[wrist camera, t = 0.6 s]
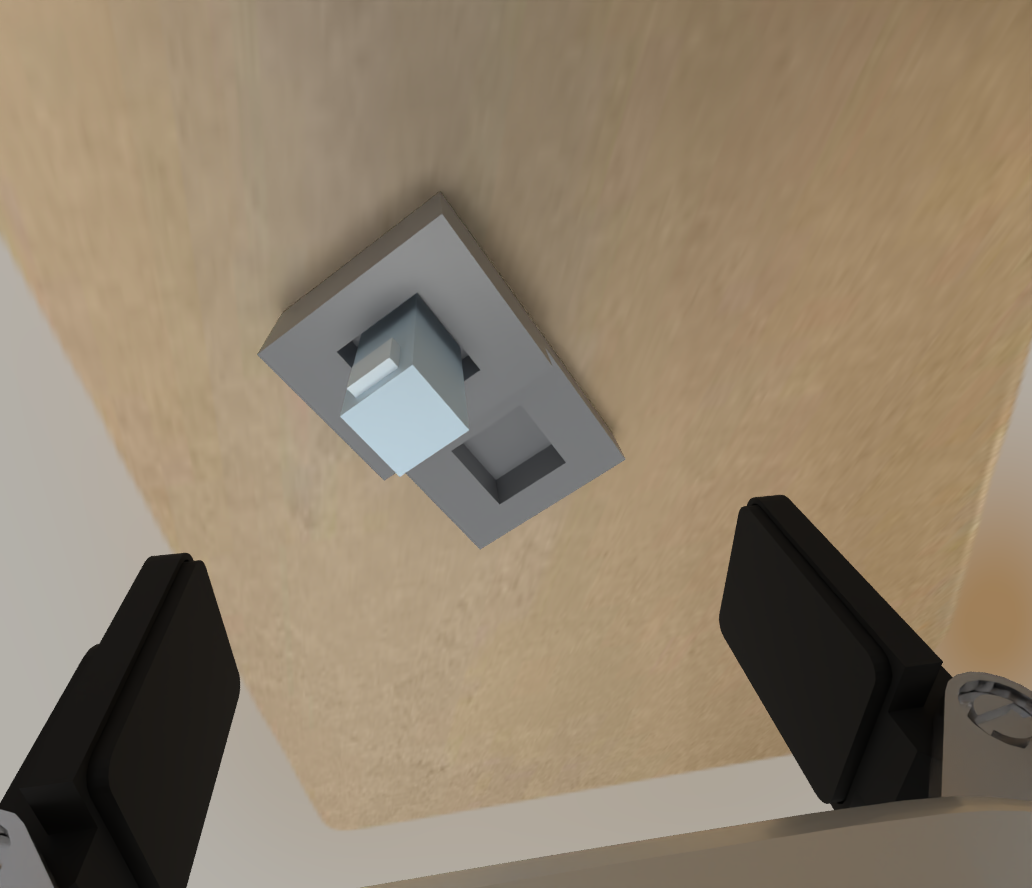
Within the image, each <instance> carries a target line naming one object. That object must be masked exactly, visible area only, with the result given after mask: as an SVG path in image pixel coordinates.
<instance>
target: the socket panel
mask: <svg viewBox="0 0 1032 888" xmlns="http://www.w3.org/2000/svg"><path fill="white" fill-rule="evenodd" d="M416 293H417V294H418V295H419V296H420V297H421V299H422V300H423V301H424V302H425V304H426V305H427V306H428V307H429V309H430V310H431V311H432V312H433V314H434V315H435V316H436V317H437V319H438V320H439V321H440V322H441V324H442V325H443V326H444V327H445V329H446V330H447V331H448V332H449V334H450V335H451V336H452V337H453V339H454V340H455V341H456V342H457V344H458V345H459V346H460V349H461V359H462V368H463V377H464V386H465V396H466V405H467V414H468V424H469V431H467V432H466V433H464V434H463V435H461V436H460V437H458V438H457V439H455V440H454V441H452V442H451V443H449V444H448V445H446V446H445V447H443V448H442V449H440V450H439V451H437V452H436V453H434V454H433V455H431V456H430V457H428V458H427V459H425V460H424V461H422V462H421V463H419V464H418V465H416V466H415V467H413V468H412V469H410V470H409V471H408V472H406V474H407V475H408V476H409V477H410V478H411V479H412V480H413V481H414V482H415V483H416V484H417V485H418V486H419V487H420V488H421V489H422V490H423V491H424V493H425V494H426V495H427V496H428V497H429V498H430V499H431V500H432V501H433V502H434V503H435V504H436V505H437V506H438V507H439V508H440V509H441V510H442V511H443V512H444V513H445V514H446V515H447V516H448V517H449V518H450V519H451V520H452V521H453V522H454V523H455V524H456V525H457V526H458V527H459V528H460V529H461V530H462V531H463V532H464V533H465V534H466V536H467V537H468V538H469V539H470V540H471V541H472V542H473V543H474V544H475V545H476V546H477V547H478V548H479V549H482V548H483V547H485V546H486V545H488V544H490V543H491V542H493V541H495V540H496V539H498V538H499V537H501V536H503V535H504V534H506V533H507V532H509V531H511V530H512V529H514V528H516V527H517V526H519V525H520V524H522V523H524V522H525V521H527V520H528V519H530V518H532V517H533V516H535V515H537V514H538V513H540V512H541V511H543V510H545V509H546V508H548V507H549V506H551V505H553V504H554V503H556V502H558V501H559V500H561V499H562V498H564V497H566V496H567V495H569V494H570V493H572V492H574V491H575V490H577V489H579V488H580V487H582V486H583V485H585V484H587V483H588V482H590V481H592V480H593V479H595V478H596V477H598V476H600V475H601V474H603V473H604V472H606V471H608V470H609V469H611V468H613V467H614V466H616V465H617V464H619V463H621V462H622V461H624V460H625V457H624V455H623V453H622V451H621V449H620V447H619V445H618V443H617V441H616V439H615V437H614V435H613V433H612V432H611V431H610V429H609V428H608V426H607V425H606V424H605V422H604V421H603V419H602V418H601V417H600V415H599V414H598V412H597V411H596V410H595V408H594V407H593V405H592V404H591V402H590V401H589V400H588V398H587V397H586V395H585V394H584V393H583V391H582V390H581V388H580V387H579V386H578V384H577V383H576V381H575V380H574V379H573V377H572V376H571V374H570V373H569V372H568V370H567V369H566V367H565V366H564V365H563V363H562V362H561V360H560V359H559V358H558V356H557V355H556V353H555V352H554V350H553V349H552V348H551V346H550V345H549V343H548V342H547V341H546V339H545V338H544V336H543V335H542V334H541V332H540V331H539V329H538V328H537V327H536V325H535V324H534V322H533V321H532V320H531V318H530V317H529V315H528V314H527V313H526V311H525V310H524V308H523V307H522V306H521V304H520V303H519V301H518V300H517V299H516V297H515V296H514V294H513V293H512V291H511V290H510V289H509V287H508V286H507V284H506V283H505V282H504V280H503V279H502V277H501V276H500V275H499V273H498V272H497V270H496V269H495V268H494V266H493V265H492V263H491V262H490V261H489V259H488V258H487V256H486V255H485V254H484V252H483V251H482V249H481V248H480V247H479V245H478V244H477V242H476V241H475V239H474V238H473V237H472V235H471V234H470V232H469V231H468V230H467V228H466V227H465V225H464V224H463V223H462V221H461V220H460V218H459V217H458V216H457V214H456V213H455V211H454V210H453V209H452V207H451V206H450V204H449V203H448V202H447V200H446V199H445V197H444V196H443V195H442V193H441V192H438V193H437V194H436V195H435V196H433V197H432V198H431V199H429V200H428V201H427V202H425V203H424V204H423V205H422V206H420V207H419V208H418V209H416V210H415V211H414V212H413V213H411V214H410V215H409V216H407V217H406V218H405V219H403V220H402V221H401V222H400V223H398V224H397V225H396V226H394V227H393V228H392V229H390V230H389V231H388V232H387V233H385V234H384V235H383V236H381V237H380V238H379V239H378V240H376V241H375V242H374V243H372V244H371V245H370V246H368V247H367V248H366V249H365V250H363V251H362V252H361V253H359V254H358V255H357V256H356V257H354V258H353V259H352V260H350V261H349V262H348V263H346V264H345V265H344V266H343V267H341V268H340V269H339V270H337V271H336V272H335V273H333V274H332V275H331V276H330V277H328V278H327V279H326V280H324V281H323V282H322V283H321V284H319V285H318V286H317V287H315V288H314V289H313V290H311V291H310V292H309V293H308V294H306V295H305V296H304V297H302V298H301V299H300V300H299V301H297V302H296V303H295V304H293V305H292V306H291V307H289V308H288V309H287V310H286V311H284V312H283V313H282V314H281V316H280V317H279V319H278V321H277V322H276V324H275V326H274V327H273V329H272V331H271V332H270V334H269V336H268V337H267V339H266V341H265V342H264V344H263V346H262V347H261V349H260V351H259V352H258V354H257V355H258V356H259V357H260V358H261V359H262V360H263V361H264V362H265V363H266V364H267V365H268V366H269V367H270V368H271V369H272V370H273V371H274V372H275V373H276V374H277V375H278V376H279V377H280V378H281V379H282V380H283V381H284V382H285V383H286V384H287V385H288V386H289V387H290V388H291V389H292V390H293V391H294V392H295V393H296V394H297V395H298V396H299V397H300V398H301V399H302V400H303V401H305V402H306V403H307V404H308V405H309V406H310V407H311V408H312V409H313V410H314V411H315V412H316V413H317V414H318V415H319V416H320V417H321V418H322V419H323V420H324V421H325V422H326V423H327V424H328V425H329V426H330V427H331V428H332V429H333V430H334V431H335V432H336V433H337V434H338V435H339V436H340V437H341V438H342V439H343V440H344V441H345V442H346V443H347V444H348V445H349V446H350V447H351V448H352V449H353V450H354V451H355V452H356V453H357V454H358V455H359V456H360V457H361V458H362V459H363V460H364V461H365V462H366V463H367V464H368V465H369V466H370V467H371V468H372V469H373V470H374V471H375V472H376V473H377V474H378V475H379V476H380V477H381V478H382V479H383V480H386V479H387V478H389V477H390V476H392V475H393V474H395V472H394V471H393V470H392V469H391V468H390V466H389V465H388V464H387V463H386V462H385V461H384V460H383V459H382V458H381V457H380V456H379V455H378V454H377V453H376V452H375V451H374V450H373V449H372V448H371V447H370V446H369V445H368V444H367V443H366V442H365V441H364V440H363V439H362V438H361V437H360V436H359V435H358V434H357V433H356V432H355V431H354V430H353V429H352V428H351V427H350V426H349V425H348V424H347V423H346V422H345V421H344V420H343V419H342V418H341V417H340V414H341V411H342V407H343V403H344V399H345V395H346V391H347V385H348V381H349V378H350V374H351V370H352V366H353V364H354V360H355V356H356V352H357V348H358V345H359V341H360V337H361V334H362V333H363V332H365V331H366V330H367V329H369V328H370V327H371V326H373V325H374V324H375V323H377V322H378V321H379V320H381V319H382V318H384V317H385V316H386V315H388V314H389V313H390V312H392V311H393V310H394V309H396V308H397V307H398V306H400V305H401V304H403V303H404V302H405V301H407V300H408V299H409V298H411V297H412V296H413V295H415V294H416Z"/></svg>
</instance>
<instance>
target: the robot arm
mask: <svg viewBox="0 0 1032 888" xmlns="http://www.w3.org/2000/svg"><path fill="white" fill-rule="evenodd" d="M719 623H720V628H721V632H722V634H723V636H724V638H725V640H726V641H727V643H728V645H729V647H730V648H731V650H732V652H733V653H734V655H735V657H736V659H737V660H738V662H739V664H740V665H741V667H742V669H743V670H744V672H745V674H746V676H747V677H748V679H749V681H750V682H751V684H752V686H753V688H754V689H755V691H756V693H757V694H758V696H759V698H760V700H761V701H762V703H763V705H764V706H765V708H766V710H767V711H768V713H769V715H770V717H771V718H772V720H773V722H774V723H775V725H776V727H777V729H778V730H779V732H780V734H781V735H782V737H783V739H784V740H785V742H786V744H787V746H788V747H789V749H790V751H791V752H792V754H793V756H794V757H795V759H796V761H797V763H798V764H799V766H800V768H801V769H802V771H803V773H804V775H805V776H806V778H807V780H808V781H809V783H810V785H811V786H812V788H813V790H814V792H815V793H816V795H817V796H818V798H819V799H820V800H821V801H822V802H824V803H826V804H829V803H830V804H831V805H832V807H833V809H834V810H832V811H825V812H819V813H811V814H805V815H798V816H792V817H786V818H780V819H773V820H767V821H761V822H755V823H748V824H742V825H736V826H729V827H723V828H717V829H710V830H705V831H698V832H692V833H685V834H679V835H673V836H667V837H660V838H654V839H648V840H643V841H636V842H630V843H624V844H618V845H612V846H606V847H600V848H593V849H587V850H581V851H575V852H569V853H563V854H557V855H551V856H545V857H539V858H533V859H527V860H521V861H515V862H510V863H503V864H497V865H491V866H485V867H480V868H473V869H467V870H461V871H455V872H449V873H443V874H437V875H431V876H426V877H420V878H414V879H408V880H402V881H396V882H391V883H385V884H379V885H373V886H367V887H362V888H1032V691H1030V690H1029V689H1027V688H1026V687H1024V686H1022V685H1020V684H1018V683H1015V682H1013V681H1011V680H1009V679H1006V678H1004V677H1000V676H997V675H992V674H988V673H983V672H966V673H962V674H958V675H956V676H954V677H952V676H951V675H950V674H949V673H948V672H947V671H946V670H945V669H944V668H943V667H942V666H941V665H942V663H943V661H942V660H941V659H940V658H939V657H938V656H937V655H936V654H935V653H934V652H933V651H932V649H931V648H930V647H929V646H928V645H927V644H926V643H925V642H924V641H923V640H922V639H921V638H920V637H919V636H918V635H917V634H916V633H915V632H914V630H913V629H912V628H911V627H910V626H909V625H908V624H907V623H906V622H905V621H904V620H903V619H902V618H901V617H900V616H899V615H898V614H897V612H896V611H895V610H894V609H893V608H892V607H891V606H890V605H889V604H888V603H887V602H886V601H885V600H884V599H883V598H882V597H881V596H880V595H879V593H878V592H877V591H876V590H875V589H874V588H873V587H872V586H871V585H870V584H869V583H868V582H867V581H866V580H865V579H864V578H863V577H862V575H861V574H860V573H859V572H858V571H857V570H856V569H855V568H854V567H853V566H852V565H851V564H850V563H849V562H848V561H847V560H846V559H845V558H844V556H843V555H842V554H841V553H840V552H839V551H838V550H837V549H836V548H835V547H834V546H833V545H832V544H831V543H830V542H829V541H828V540H827V538H826V537H825V536H824V535H823V534H822V533H821V532H820V531H819V530H818V529H817V528H816V527H815V526H814V525H813V524H812V523H811V522H810V521H809V519H808V518H807V517H806V516H805V515H804V514H803V513H802V512H801V511H800V510H799V509H798V508H797V507H796V506H795V505H794V504H793V503H792V501H791V500H790V499H789V498H787V497H786V496H784V495H774V496H764V497H754V498H751V499H750V500H749V502H748V504H747V506H744V507H742V508H741V509H740V511H739V514H738V519H737V525H736V530H735V535H734V541H733V546H732V551H731V556H730V562H729V567H728V572H727V577H726V583H725V588H724V593H723V598H722V604H721V609H720V614H719ZM239 693H240V677H239V672H238V669H237V666H236V663H235V659H234V656H233V653H232V650H231V646H230V643H229V640H228V637H227V634H226V630H225V627H224V624H223V621H222V618H221V614H220V611H219V608H218V605H217V601H216V598H215V595H214V592H213V589H212V585H211V582H210V579H209V576H208V572H207V569H206V566H205V564H204V563H203V561H201V560H198V561H194V560H193V558H192V556H191V555H190V554H188V553H179V554H169V555H159V556H151V557H149V558H148V559H147V560H146V561H145V563H144V565H143V566H142V569H141V570H140V572H139V574H138V575H137V577H136V579H135V581H134V583H133V584H132V586H131V588H130V590H129V592H128V594H127V595H126V597H125V599H124V601H123V602H122V604H121V606H120V608H119V610H118V611H117V613H116V615H115V617H114V619H113V620H112V622H111V624H110V626H109V628H108V629H107V631H106V633H105V635H104V637H103V638H102V640H101V642H100V644H97V645H95V646H93V647H92V648H90V649H89V650H88V652H87V653H86V655H85V656H84V657H83V659H82V661H81V662H80V664H79V666H78V668H77V670H76V671H75V673H74V675H73V676H72V678H71V680H70V682H69V683H68V685H67V687H66V689H65V691H64V692H63V694H62V696H61V697H60V699H59V701H58V703H57V705H56V706H55V708H54V710H53V711H52V713H51V715H50V717H49V718H48V720H47V722H46V724H45V726H44V727H43V729H42V731H41V732H40V734H39V736H38V738H37V739H36V741H35V743H34V745H33V747H32V748H31V750H30V752H29V753H28V755H27V757H26V759H25V761H24V762H23V764H22V766H21V768H20V769H19V771H18V773H17V774H16V776H15V778H14V780H13V781H12V783H11V785H10V787H9V789H8V790H7V792H6V794H5V796H4V797H3V799H2V801H1V803H0V888H186V887H187V883H188V880H189V876H190V872H191V868H192V865H193V861H194V857H195V854H196V850H197V846H198V843H199V840H200V836H201V832H202V829H203V825H204V821H205V818H206V814H207V810H208V807H209V803H210V800H211V796H212V792H213V789H214V785H215V782H216V778H217V774H218V771H219V767H220V763H221V759H222V756H223V753H224V749H225V745H226V742H227V738H228V734H229V731H230V727H231V723H232V720H233V716H234V713H235V709H236V705H237V702H238V698H239Z"/></svg>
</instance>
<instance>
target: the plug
mask: <svg viewBox="0 0 1032 888" xmlns="http://www.w3.org/2000/svg"><path fill="white" fill-rule="evenodd" d="M340 417H341V418H342V419H343V420H344V421H345V422H346V423H347V424H348V425H349V426H350V427H351V428H352V429H353V430H354V431H355V432H356V433H357V434H358V435H359V436H360V437H361V438H362V439H363V440H364V441H365V442H366V443H367V444H368V445H369V446H370V447H371V448H372V449H373V450H374V451H375V452H376V453H377V454H378V455H379V456H380V457H381V458H382V459H383V460H384V461H385V462H386V463H387V464H388V465H389V466H390V468H391V469H392V470H393V471H394V472H395V473H396V474H397V475H398V476H399V477H400V476H402V475H403V474H405V473H406V472H408V471H409V470H410V469H412V468H413V467H415V466H416V465H418V464H419V463H421V462H422V461H424V460H425V459H427V458H428V457H430V456H431V455H433V454H434V453H436V452H437V451H439V450H440V449H442V448H443V447H445V446H446V445H448V444H449V443H451V442H452V441H454V440H455V439H457V438H458V437H460V436H461V435H463V434H464V433H466V432H467V431H469V424H468V414H467V405H466V396H465V386H464V377H463V368H462V359H461V349H460V346H459V345H458V344H457V342H456V341H455V340H454V339H453V337H452V336H451V335H450V334H449V332H448V331H447V330H446V329H445V327H444V326H443V325H442V324H441V322H440V321H439V320H438V319H437V317H436V316H435V315H434V314H433V312H432V311H431V310H430V309H429V307H428V306H427V305H426V304H425V302H424V301H423V300H422V299H421V297H420V296H419V295H418V294H417V293H416V294H415V295H413V296H412V297H411V298H409V299H408V300H407V301H405V302H404V303H403V304H401V305H400V306H398V307H397V308H396V309H394V310H393V311H392V312H390V313H389V314H388V315H386V316H385V317H384V318H382V319H381V320H379V321H378V322H377V323H375V324H374V325H373V326H371V327H370V328H369V329H367V330H366V331H365V332H363V333H362V334H361V337H360V341H359V345H358V348H357V352H356V356H355V360H354V364H353V366H352V370H351V374H350V378H349V381H348V385H347V391H346V395H345V399H344V403H343V407H342V411H341V414H340Z"/></svg>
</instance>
